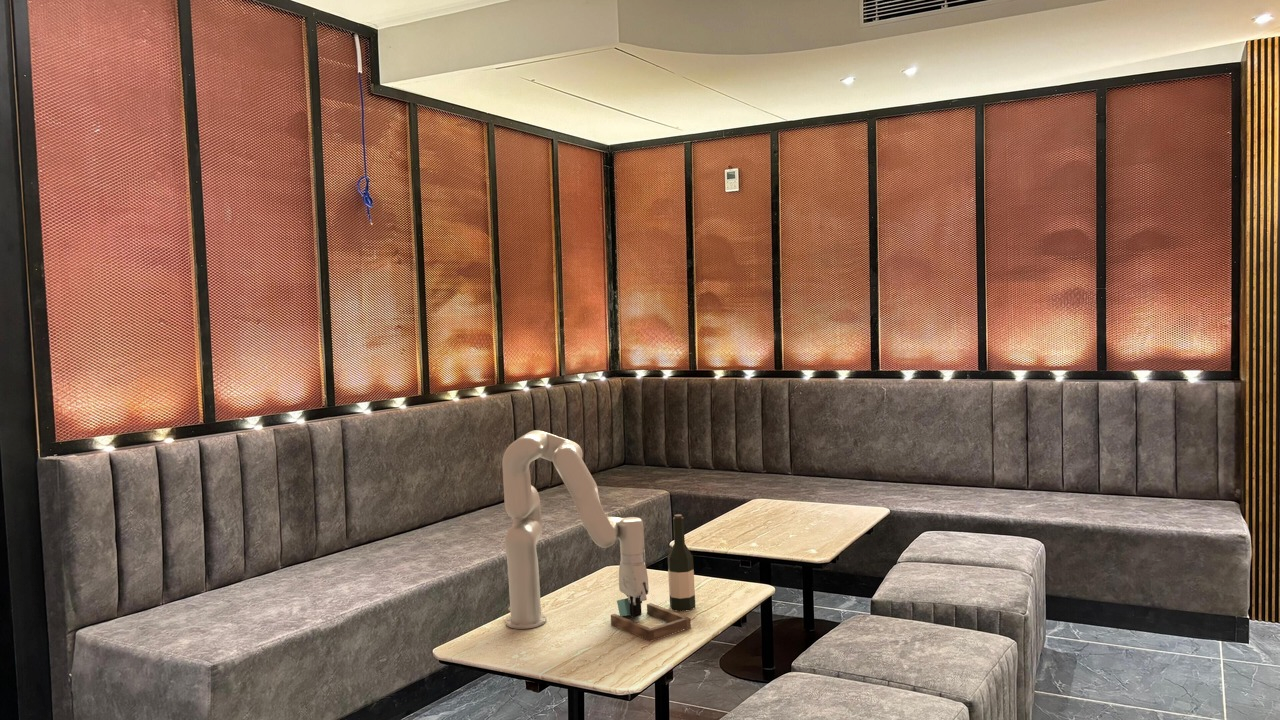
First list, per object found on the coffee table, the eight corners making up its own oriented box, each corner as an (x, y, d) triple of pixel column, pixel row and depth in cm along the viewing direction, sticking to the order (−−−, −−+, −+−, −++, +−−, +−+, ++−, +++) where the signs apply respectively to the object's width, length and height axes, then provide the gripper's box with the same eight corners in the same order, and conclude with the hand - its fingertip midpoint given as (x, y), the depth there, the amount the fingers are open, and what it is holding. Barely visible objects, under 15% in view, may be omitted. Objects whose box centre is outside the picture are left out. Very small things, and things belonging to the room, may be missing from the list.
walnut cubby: (611, 624, 269) (610, 614, 269) (650, 612, 278) (650, 602, 278) (650, 641, 253) (649, 631, 253) (690, 627, 263) (690, 618, 263)
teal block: (620, 616, 276) (616, 600, 277) (633, 613, 278) (630, 597, 280) (627, 615, 272) (623, 599, 273) (641, 611, 274) (637, 595, 276)
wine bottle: (667, 611, 279) (662, 518, 277) (672, 602, 287) (668, 512, 285) (693, 611, 277) (688, 518, 275) (697, 603, 285) (693, 512, 283)
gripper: (609, 555, 275) (612, 613, 276) (637, 565, 263) (640, 625, 264) (628, 551, 279) (631, 607, 280) (657, 559, 267) (660, 618, 268)
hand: (636, 615), depth 272 cm, fingers closed
